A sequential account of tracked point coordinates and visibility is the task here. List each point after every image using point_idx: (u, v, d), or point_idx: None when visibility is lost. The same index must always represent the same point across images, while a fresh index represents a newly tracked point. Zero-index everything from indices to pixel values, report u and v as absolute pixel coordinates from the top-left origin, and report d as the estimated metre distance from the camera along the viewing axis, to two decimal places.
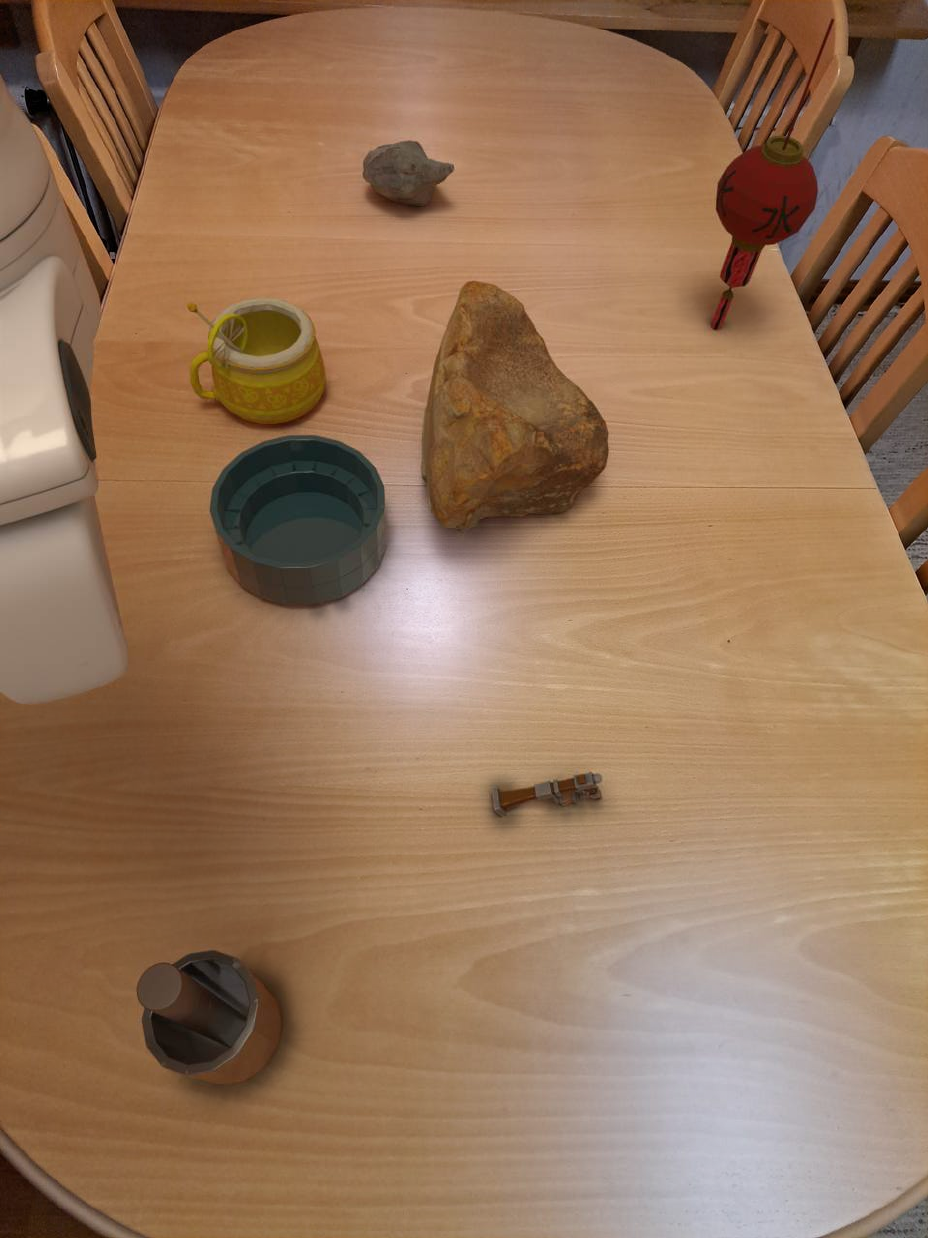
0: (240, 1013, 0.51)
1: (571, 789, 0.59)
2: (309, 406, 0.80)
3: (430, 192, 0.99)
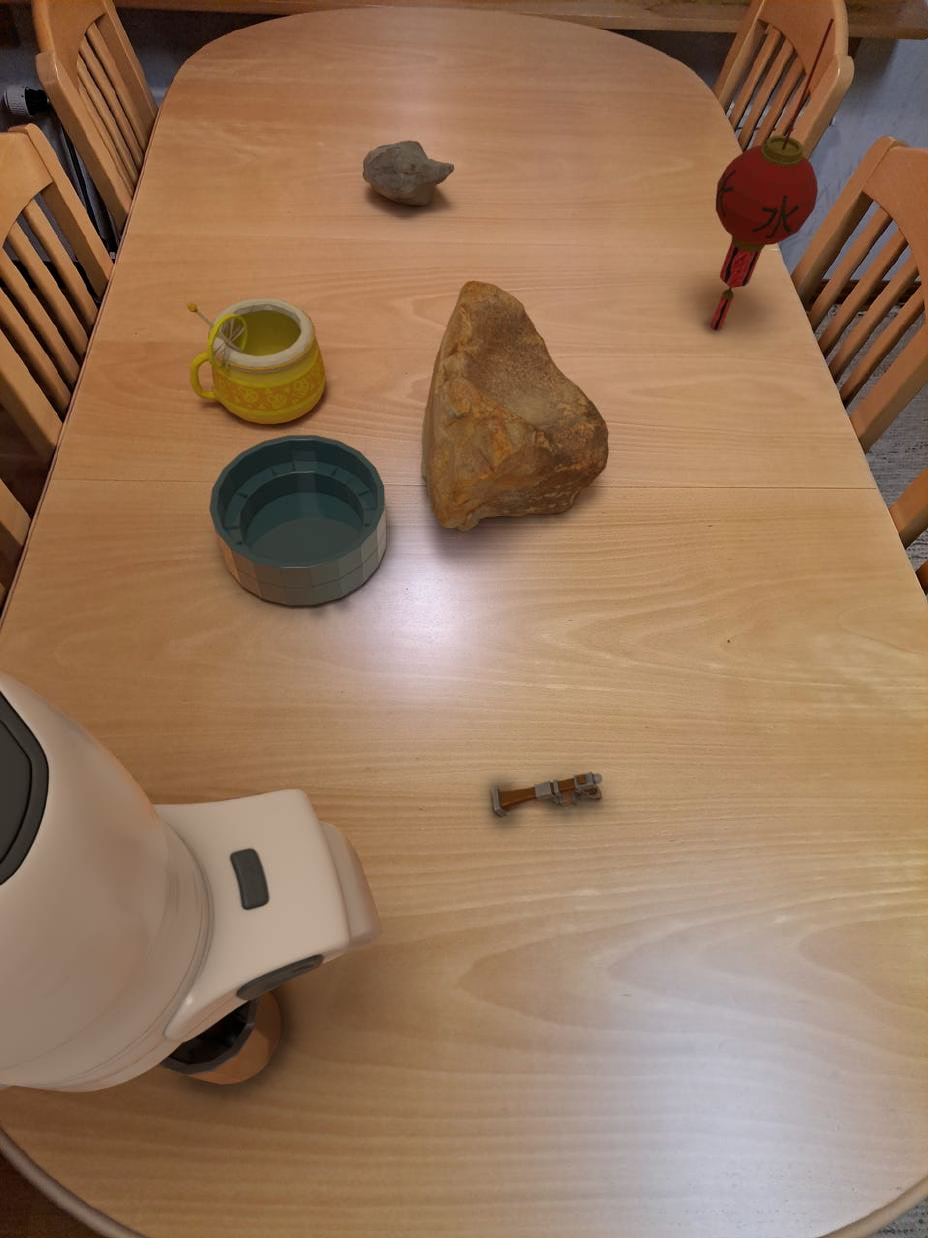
0: (239, 1013, 0.51)
1: (571, 789, 0.59)
2: (309, 406, 0.80)
3: (430, 192, 0.99)
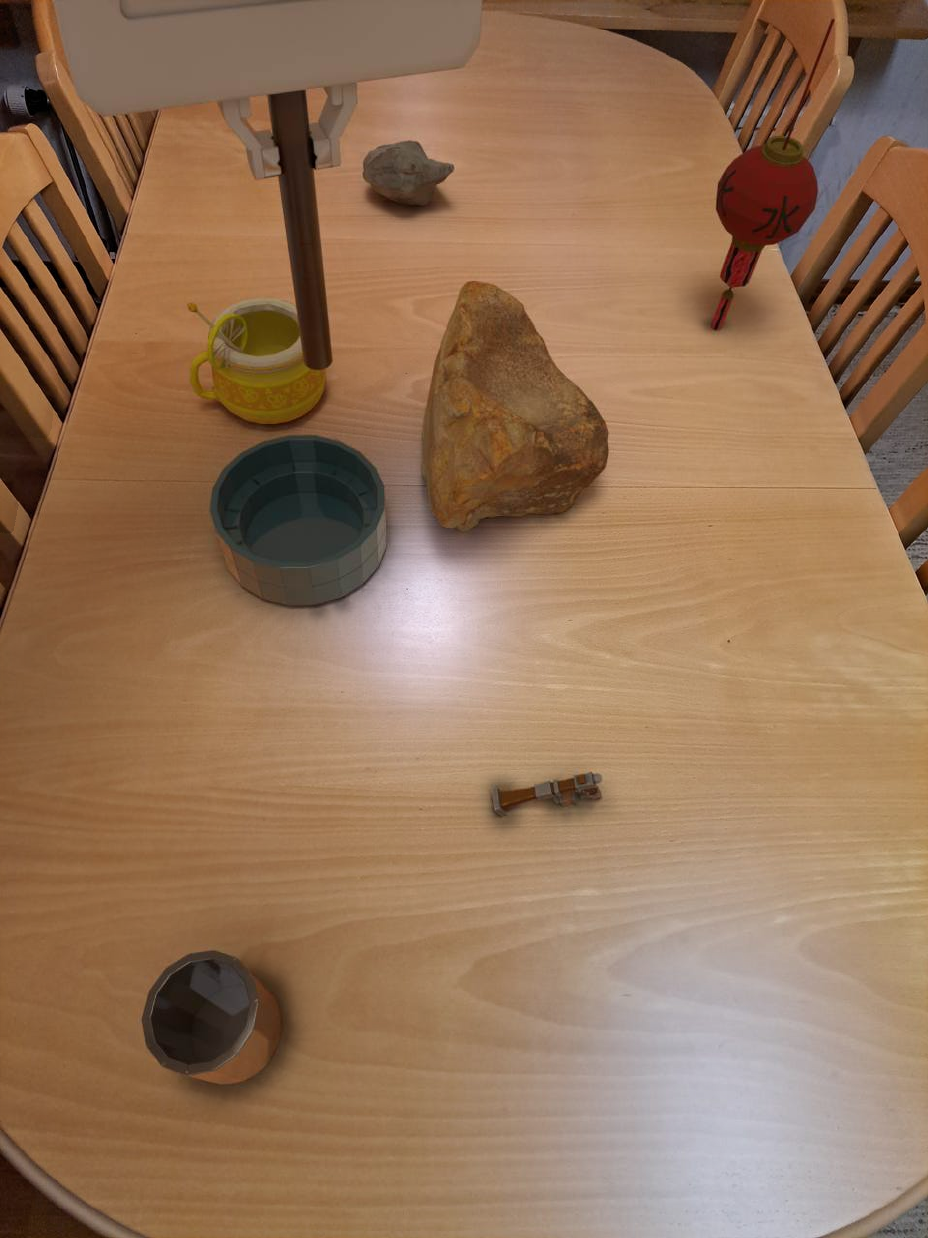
0: None
1: (571, 789, 0.59)
2: (309, 406, 0.80)
3: (430, 192, 0.99)
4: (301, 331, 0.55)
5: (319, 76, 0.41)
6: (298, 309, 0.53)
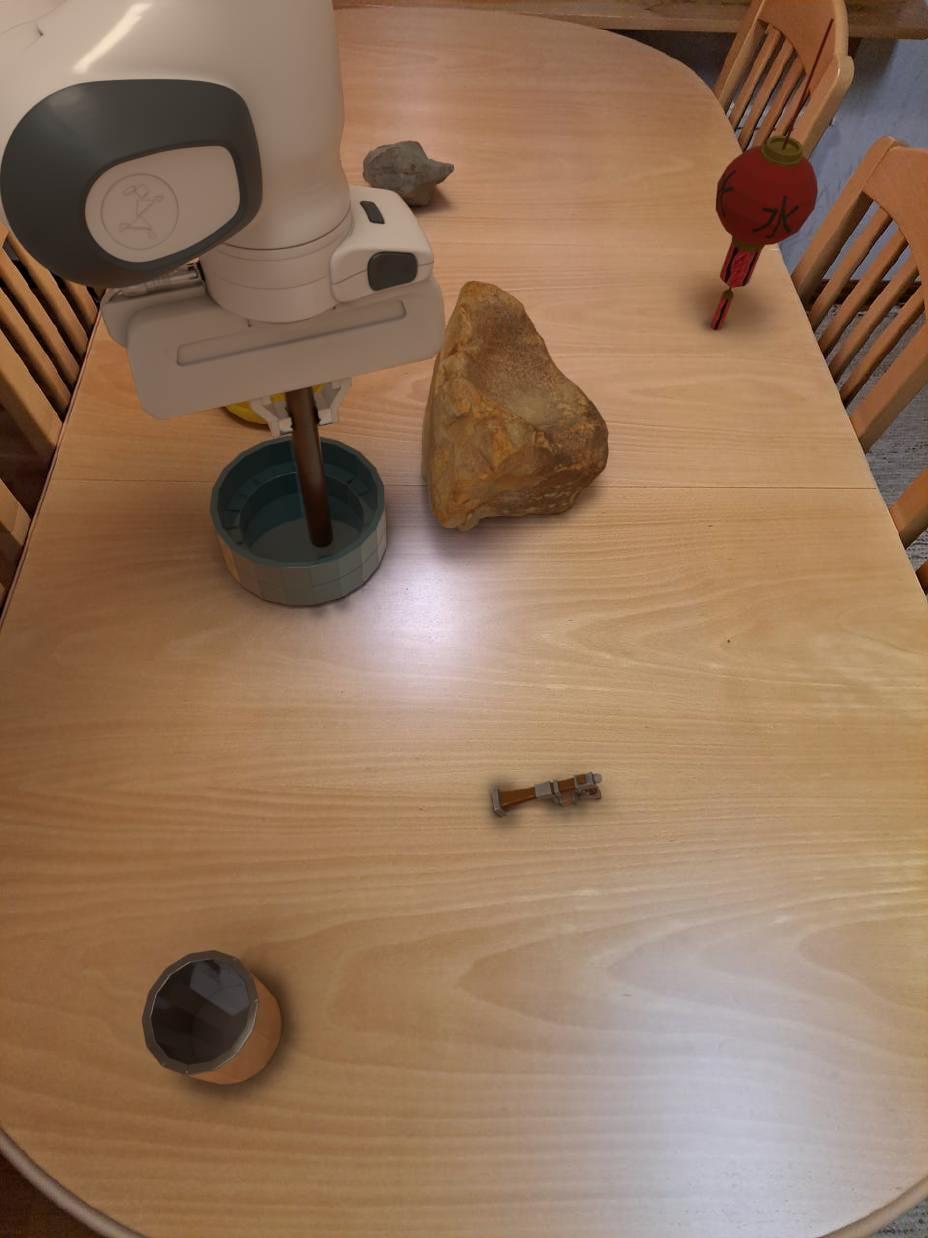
0: None
1: (571, 789, 0.59)
2: None
3: (430, 192, 0.99)
4: (308, 523, 0.68)
5: (322, 378, 0.54)
6: (305, 509, 0.66)
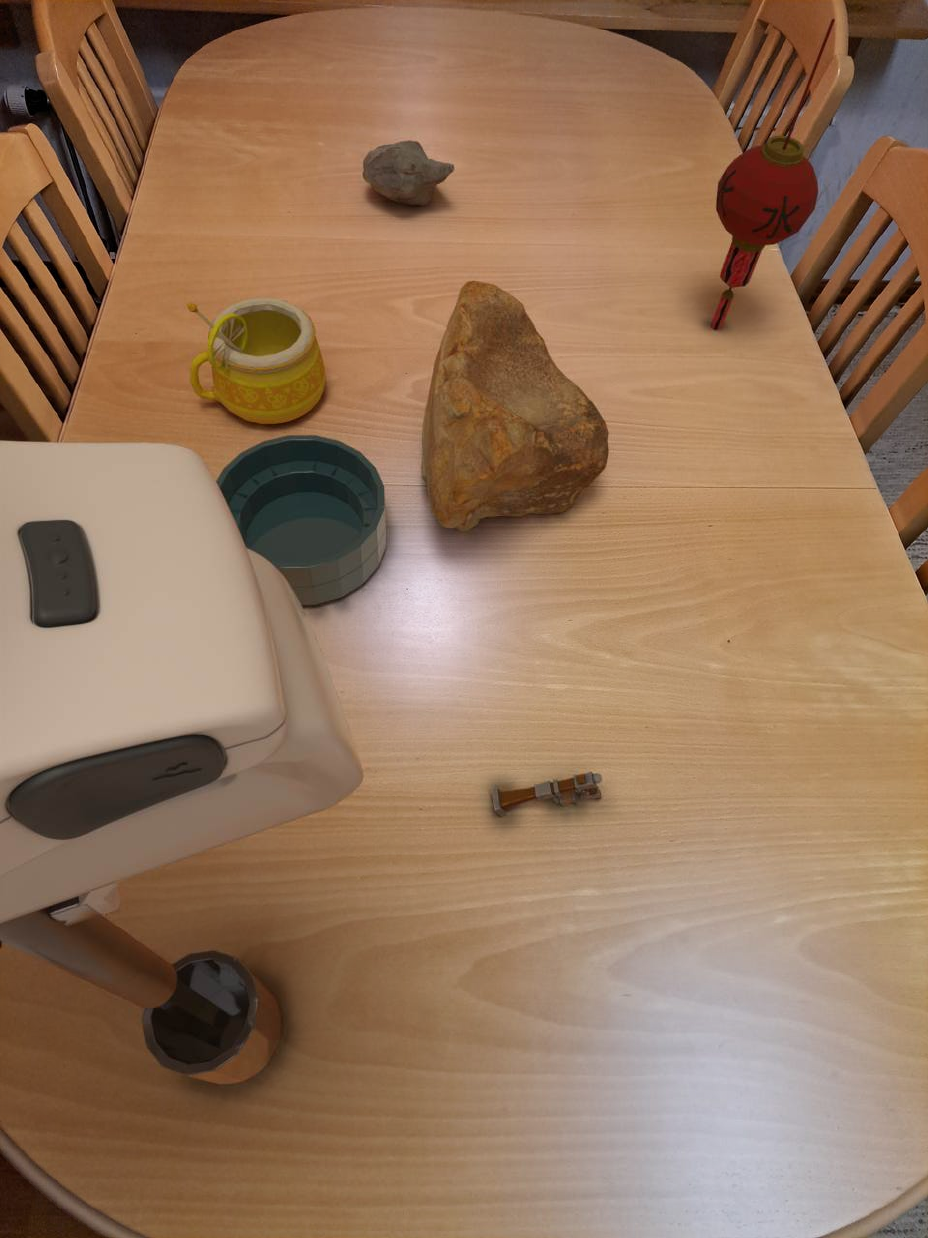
0: (162, 959, 0.35)
1: (571, 789, 0.59)
2: (309, 406, 0.80)
3: (430, 192, 0.99)
4: None
5: (18, 914, 0.20)
6: None
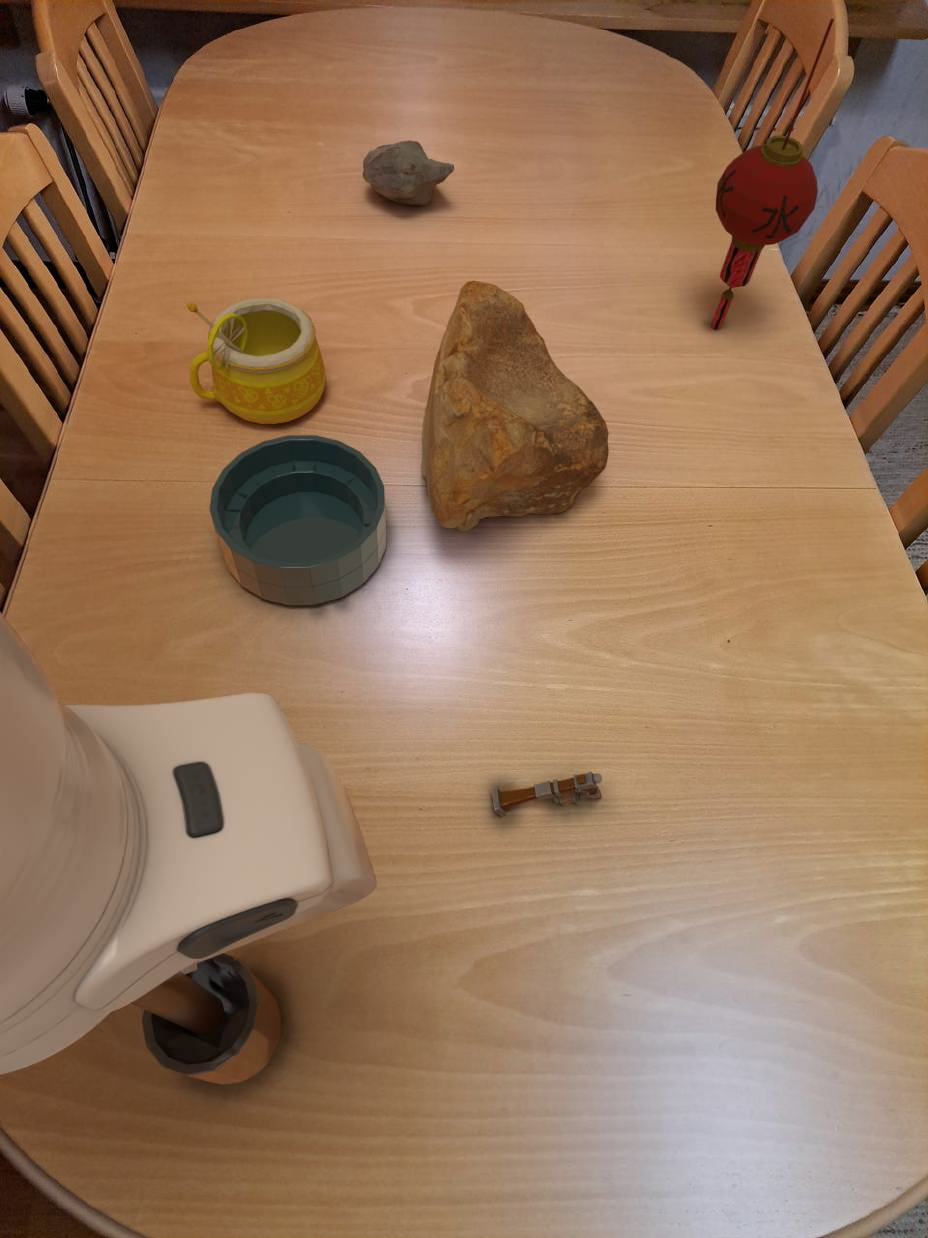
0: (214, 995, 0.44)
1: (571, 789, 0.59)
2: (309, 406, 0.80)
3: (430, 192, 0.99)
4: None
5: None
6: None
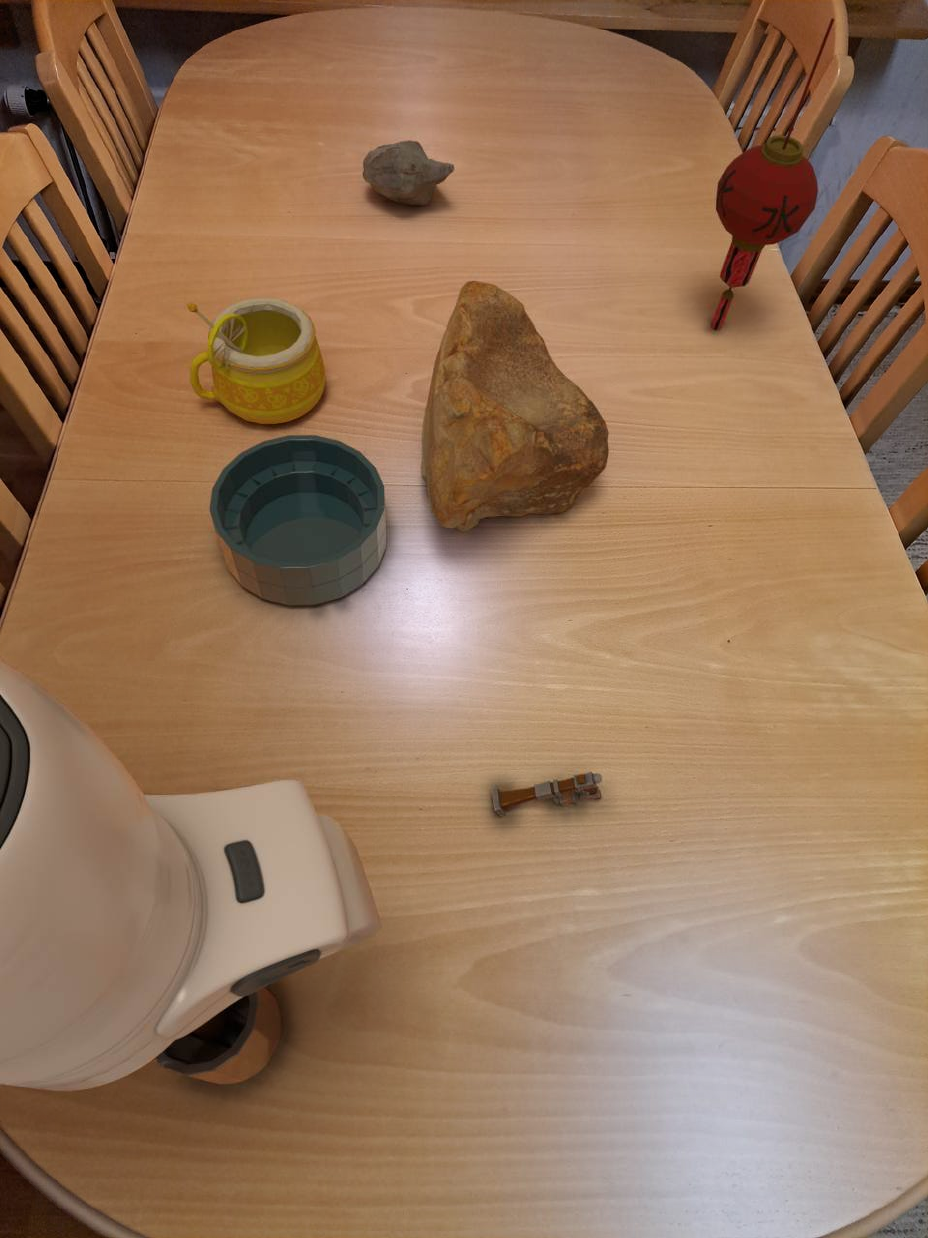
0: (240, 1014, 0.51)
1: (571, 789, 0.59)
2: (309, 406, 0.80)
3: (430, 192, 0.99)
4: None
5: None
6: None
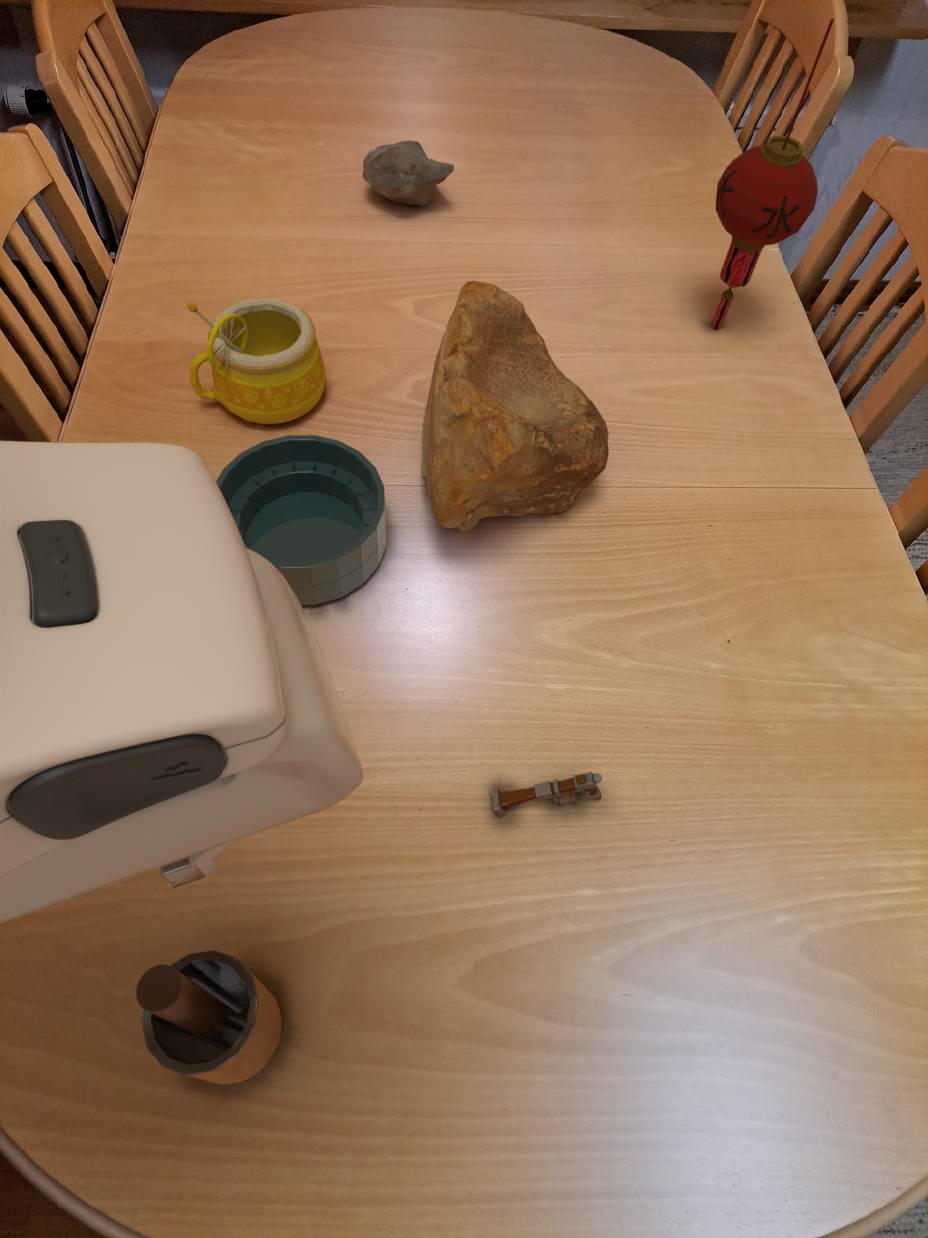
0: (240, 1014, 0.51)
1: (571, 789, 0.59)
2: (309, 406, 0.80)
3: (430, 192, 0.99)
4: None
5: (18, 914, 0.20)
6: None
